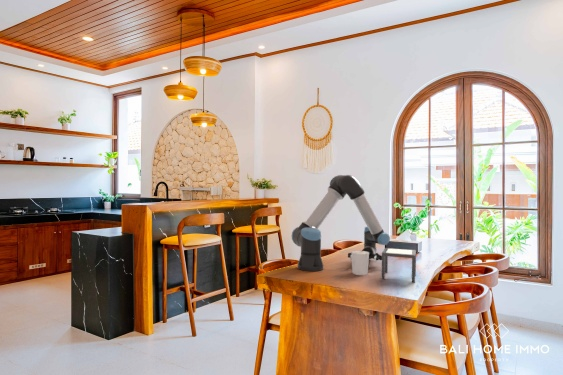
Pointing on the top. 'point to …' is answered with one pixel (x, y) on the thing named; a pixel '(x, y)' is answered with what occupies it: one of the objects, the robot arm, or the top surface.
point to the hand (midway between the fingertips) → (362, 258)
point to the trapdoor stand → (385, 256)
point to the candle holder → (360, 262)
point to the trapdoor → (399, 251)
